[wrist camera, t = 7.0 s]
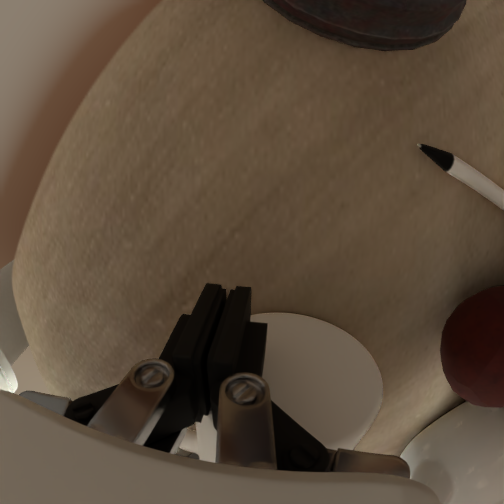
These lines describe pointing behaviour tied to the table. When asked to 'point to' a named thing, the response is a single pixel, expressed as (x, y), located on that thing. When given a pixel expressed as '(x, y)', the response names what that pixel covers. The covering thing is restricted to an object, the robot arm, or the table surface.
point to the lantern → (374, 20)
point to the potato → (476, 348)
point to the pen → (465, 174)
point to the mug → (311, 383)
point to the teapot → (461, 456)
